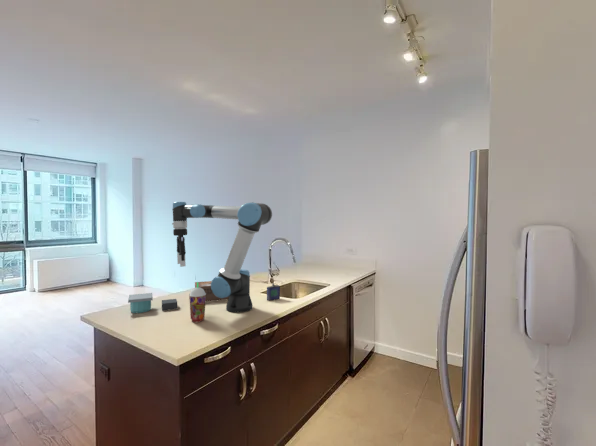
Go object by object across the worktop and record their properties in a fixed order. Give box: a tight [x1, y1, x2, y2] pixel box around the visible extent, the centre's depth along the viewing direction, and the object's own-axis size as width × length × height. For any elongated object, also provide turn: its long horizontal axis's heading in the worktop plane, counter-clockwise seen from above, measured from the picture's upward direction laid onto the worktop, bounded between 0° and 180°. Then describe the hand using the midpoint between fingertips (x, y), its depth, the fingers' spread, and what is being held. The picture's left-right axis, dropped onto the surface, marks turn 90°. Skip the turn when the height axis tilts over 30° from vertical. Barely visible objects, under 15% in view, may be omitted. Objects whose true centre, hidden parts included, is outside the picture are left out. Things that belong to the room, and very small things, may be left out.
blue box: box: [266, 282, 281, 302], centre depth 200 cm, size 9×3×11 cm, turn 121°
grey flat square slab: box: [127, 292, 153, 304], centre depth 176 cm, size 12×12×2 cm
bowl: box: [129, 300, 152, 314], centre depth 176 cm, size 10×10×6 cm
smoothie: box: [188, 281, 207, 323], centre depth 159 cm, size 8×8×20 cm
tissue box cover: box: [194, 280, 229, 302], centre depth 204 cm, size 26×14×10 cm, turn 110°
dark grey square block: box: [161, 298, 178, 312], centre depth 181 cm, size 8×8×4 cm
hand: (181, 265), depth 179 cm, fingers open, 13 cm apart
